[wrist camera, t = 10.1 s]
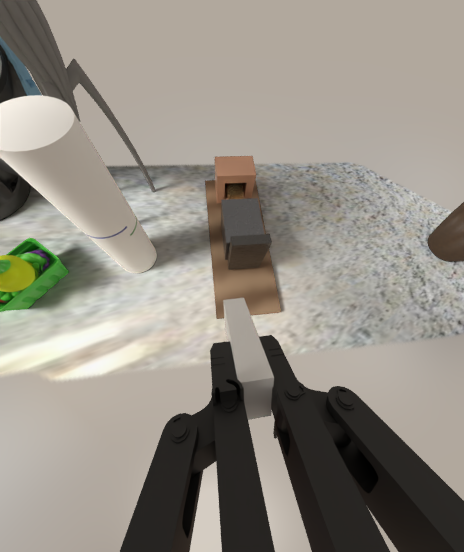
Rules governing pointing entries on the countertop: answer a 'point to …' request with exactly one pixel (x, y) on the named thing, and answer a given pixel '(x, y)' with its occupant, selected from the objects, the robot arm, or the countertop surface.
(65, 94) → the citrus juicer
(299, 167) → the countertop surface
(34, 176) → the cylindrical container
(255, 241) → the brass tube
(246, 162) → the terracotta socket
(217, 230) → the walnut board
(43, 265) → the fruit basket
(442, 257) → the plant pot
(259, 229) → the metal sleeve
